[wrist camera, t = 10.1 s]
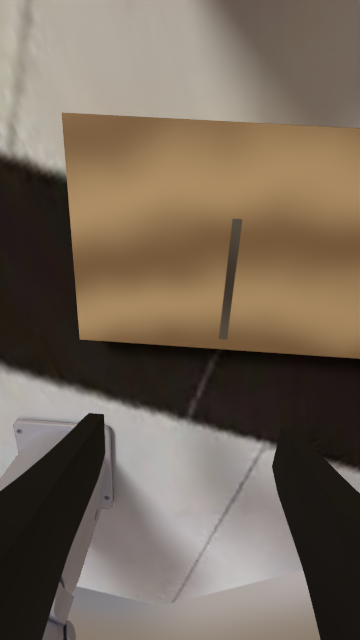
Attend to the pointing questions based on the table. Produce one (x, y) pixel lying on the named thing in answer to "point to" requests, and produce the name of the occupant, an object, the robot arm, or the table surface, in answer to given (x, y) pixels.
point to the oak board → (215, 233)
